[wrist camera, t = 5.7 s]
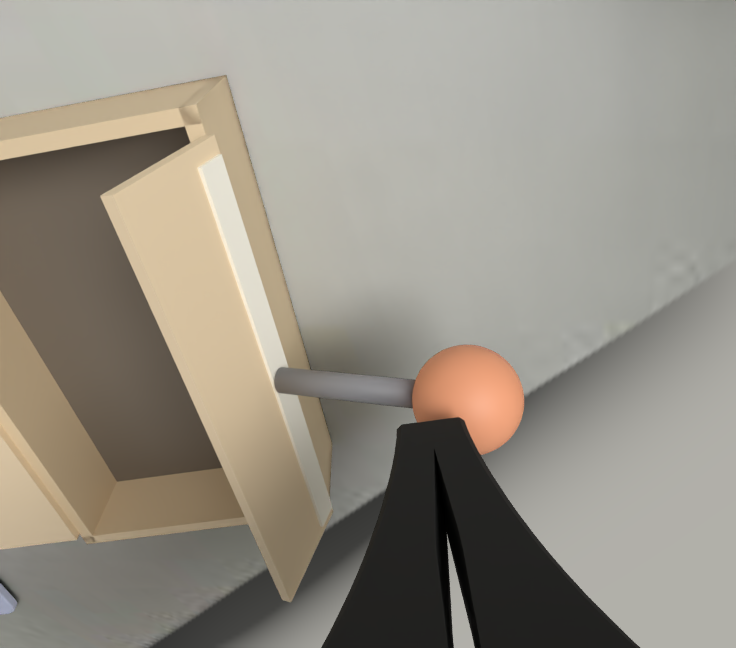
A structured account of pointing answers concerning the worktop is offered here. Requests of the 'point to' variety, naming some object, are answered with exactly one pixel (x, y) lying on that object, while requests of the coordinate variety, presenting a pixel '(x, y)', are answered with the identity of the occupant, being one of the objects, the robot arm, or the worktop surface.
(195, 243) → the flap
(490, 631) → the robot arm
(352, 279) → the worktop surface
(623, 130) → the worktop surface
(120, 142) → the carton
